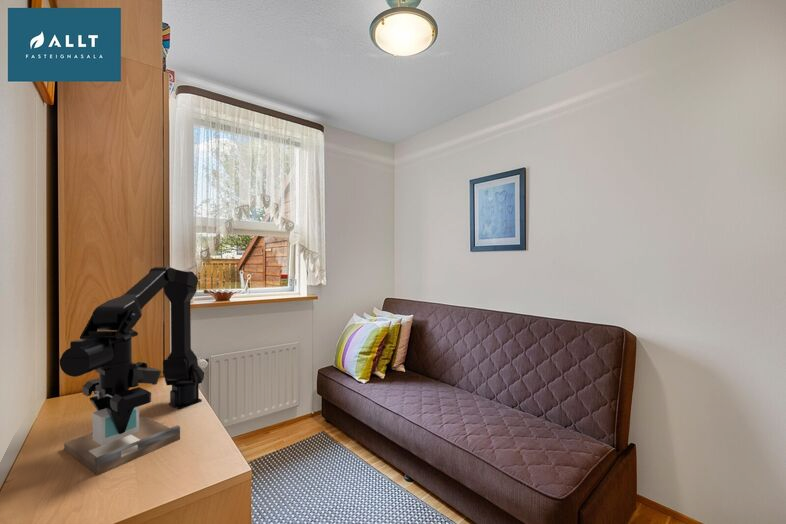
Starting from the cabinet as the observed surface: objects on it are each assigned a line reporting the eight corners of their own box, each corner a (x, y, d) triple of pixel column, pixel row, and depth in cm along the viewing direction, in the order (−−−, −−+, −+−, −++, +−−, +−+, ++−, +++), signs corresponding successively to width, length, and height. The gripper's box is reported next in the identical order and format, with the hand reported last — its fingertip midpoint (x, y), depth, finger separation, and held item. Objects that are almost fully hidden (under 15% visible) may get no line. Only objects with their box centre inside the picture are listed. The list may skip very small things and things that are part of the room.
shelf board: (143, 420, 92) (143, 409, 92) (180, 439, 83) (180, 426, 83) (64, 449, 79) (63, 435, 78) (97, 475, 69) (97, 460, 69)
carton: (92, 439, 75) (92, 412, 75) (130, 426, 81) (129, 400, 81) (102, 446, 73) (101, 417, 73) (139, 431, 79) (139, 405, 79)
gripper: (176, 358, 79) (176, 425, 79) (137, 346, 89) (137, 406, 89) (118, 372, 69) (119, 448, 70) (81, 357, 79) (82, 425, 79)
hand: (116, 430), depth 77 cm, fingers closed on carton, 5 cm apart
